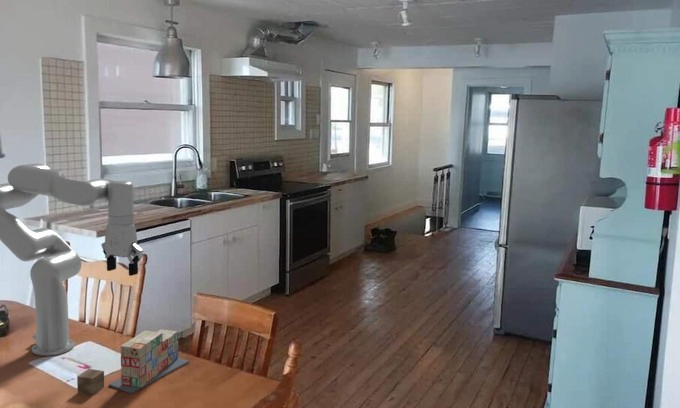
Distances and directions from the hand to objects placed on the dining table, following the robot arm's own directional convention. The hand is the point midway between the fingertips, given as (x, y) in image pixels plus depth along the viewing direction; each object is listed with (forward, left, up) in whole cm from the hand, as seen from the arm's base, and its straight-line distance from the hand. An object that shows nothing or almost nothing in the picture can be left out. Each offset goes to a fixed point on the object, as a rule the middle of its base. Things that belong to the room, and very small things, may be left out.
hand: (122, 272), depth 176 cm
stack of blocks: (+17, -5, -28) cm, 33 cm away
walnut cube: (+10, -21, -28) cm, 37 cm away
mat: (+17, -5, -28) cm, 33 cm away
